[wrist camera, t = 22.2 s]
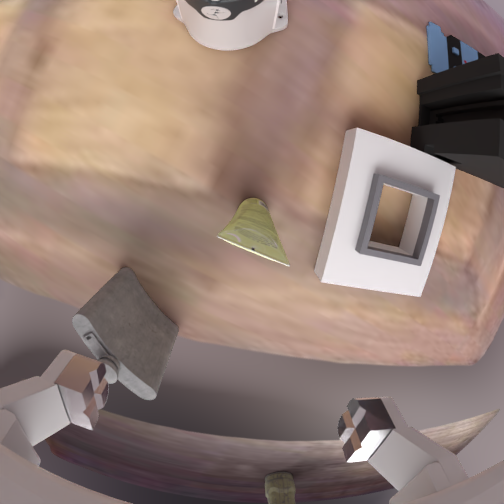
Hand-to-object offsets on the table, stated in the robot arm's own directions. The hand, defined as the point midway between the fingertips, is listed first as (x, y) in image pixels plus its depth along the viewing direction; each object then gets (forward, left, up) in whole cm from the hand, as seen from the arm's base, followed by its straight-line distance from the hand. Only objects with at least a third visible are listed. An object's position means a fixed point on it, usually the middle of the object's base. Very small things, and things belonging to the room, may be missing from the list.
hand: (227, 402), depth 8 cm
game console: (-32, +43, -39) cm, 67 cm away
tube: (+1, +2, -39) cm, 39 cm away
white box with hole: (-4, +24, -39) cm, 46 cm away
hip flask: (+20, -14, -39) cm, 46 cm away
